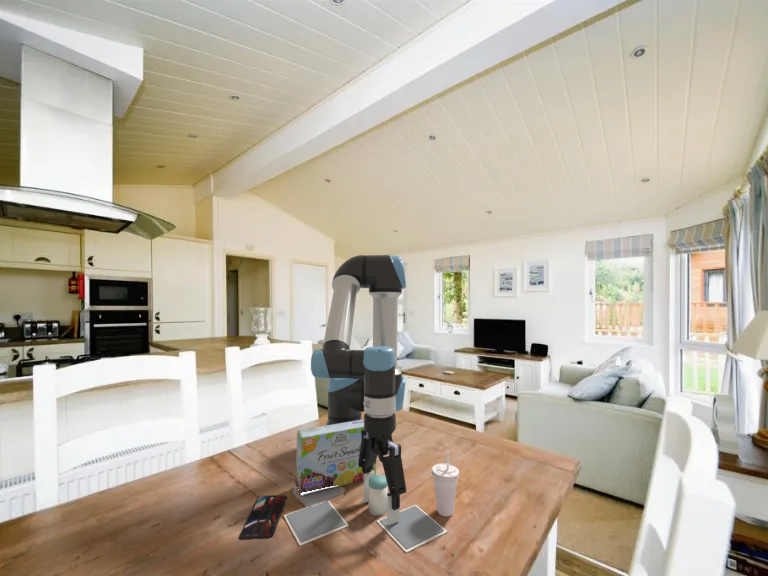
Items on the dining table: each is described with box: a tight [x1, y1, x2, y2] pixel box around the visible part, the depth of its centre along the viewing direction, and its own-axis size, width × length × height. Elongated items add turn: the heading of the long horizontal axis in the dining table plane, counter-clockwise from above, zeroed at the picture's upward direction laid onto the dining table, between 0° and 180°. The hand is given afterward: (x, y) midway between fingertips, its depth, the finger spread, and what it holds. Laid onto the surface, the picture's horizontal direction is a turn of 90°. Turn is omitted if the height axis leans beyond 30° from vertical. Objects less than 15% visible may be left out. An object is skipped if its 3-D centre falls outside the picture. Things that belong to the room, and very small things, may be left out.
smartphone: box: [238, 494, 288, 541], centre depth 78 cm, size 7×1×15 cm
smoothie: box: [431, 450, 460, 517], centre depth 80 cm, size 6×6×14 cm
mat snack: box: [283, 500, 349, 547], centre depth 76 cm, size 11×11×1 cm
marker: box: [368, 474, 388, 517], centre depth 80 cm, size 4×4×7 cm
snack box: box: [295, 418, 377, 494], centre depth 92 cm, size 21×6×15 cm, turn 117°
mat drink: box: [376, 504, 448, 554], centre depth 74 cm, size 11×11×1 cm
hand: (380, 510), depth 79 cm, fingers open, 10 cm apart
